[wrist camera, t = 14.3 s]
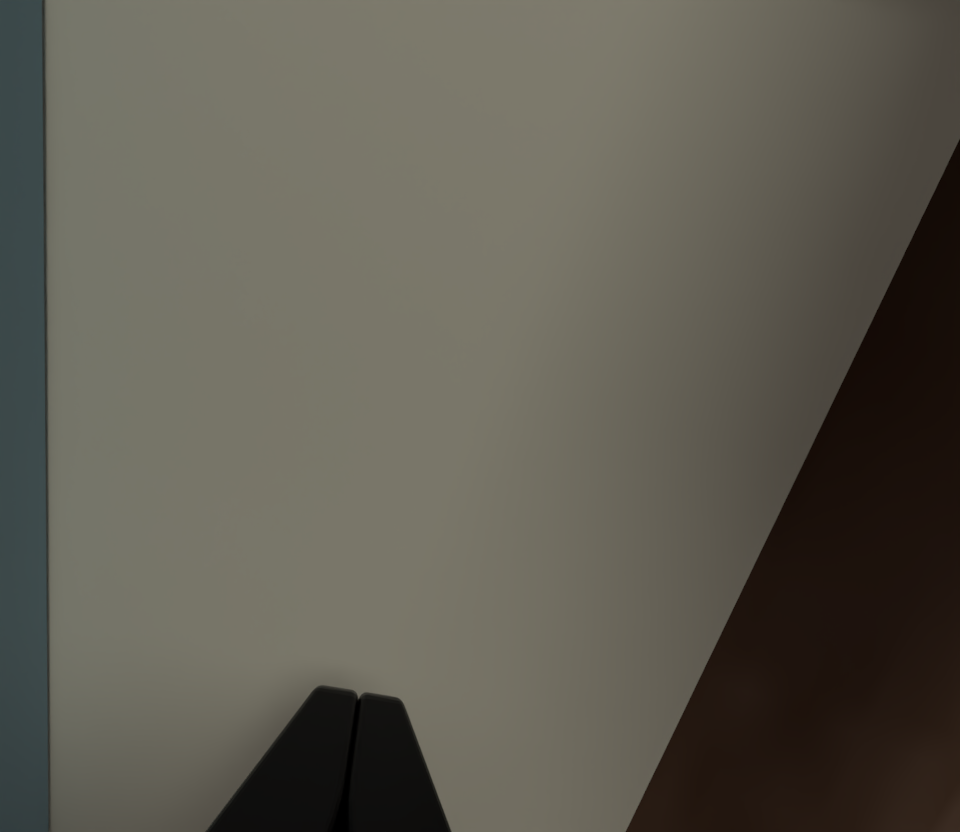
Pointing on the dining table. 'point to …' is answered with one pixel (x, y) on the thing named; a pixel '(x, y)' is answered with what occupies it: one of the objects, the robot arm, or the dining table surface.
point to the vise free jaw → (22, 426)
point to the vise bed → (444, 367)
